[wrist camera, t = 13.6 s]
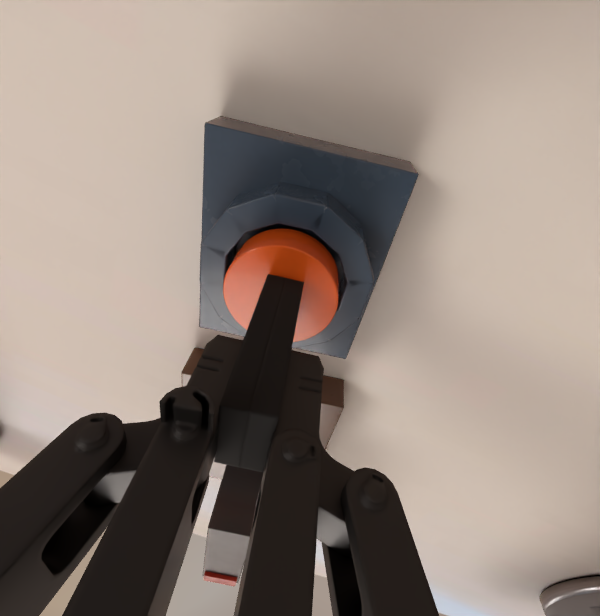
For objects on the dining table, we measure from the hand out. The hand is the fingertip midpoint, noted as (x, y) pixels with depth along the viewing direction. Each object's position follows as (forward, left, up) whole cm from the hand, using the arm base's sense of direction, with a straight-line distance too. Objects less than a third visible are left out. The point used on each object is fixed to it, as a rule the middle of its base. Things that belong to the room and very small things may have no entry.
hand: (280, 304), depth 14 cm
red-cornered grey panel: (-16, 0, -3) cm, 16 cm away
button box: (0, 0, -6) cm, 6 cm away
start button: (0, 0, -2) cm, 2 cm away
